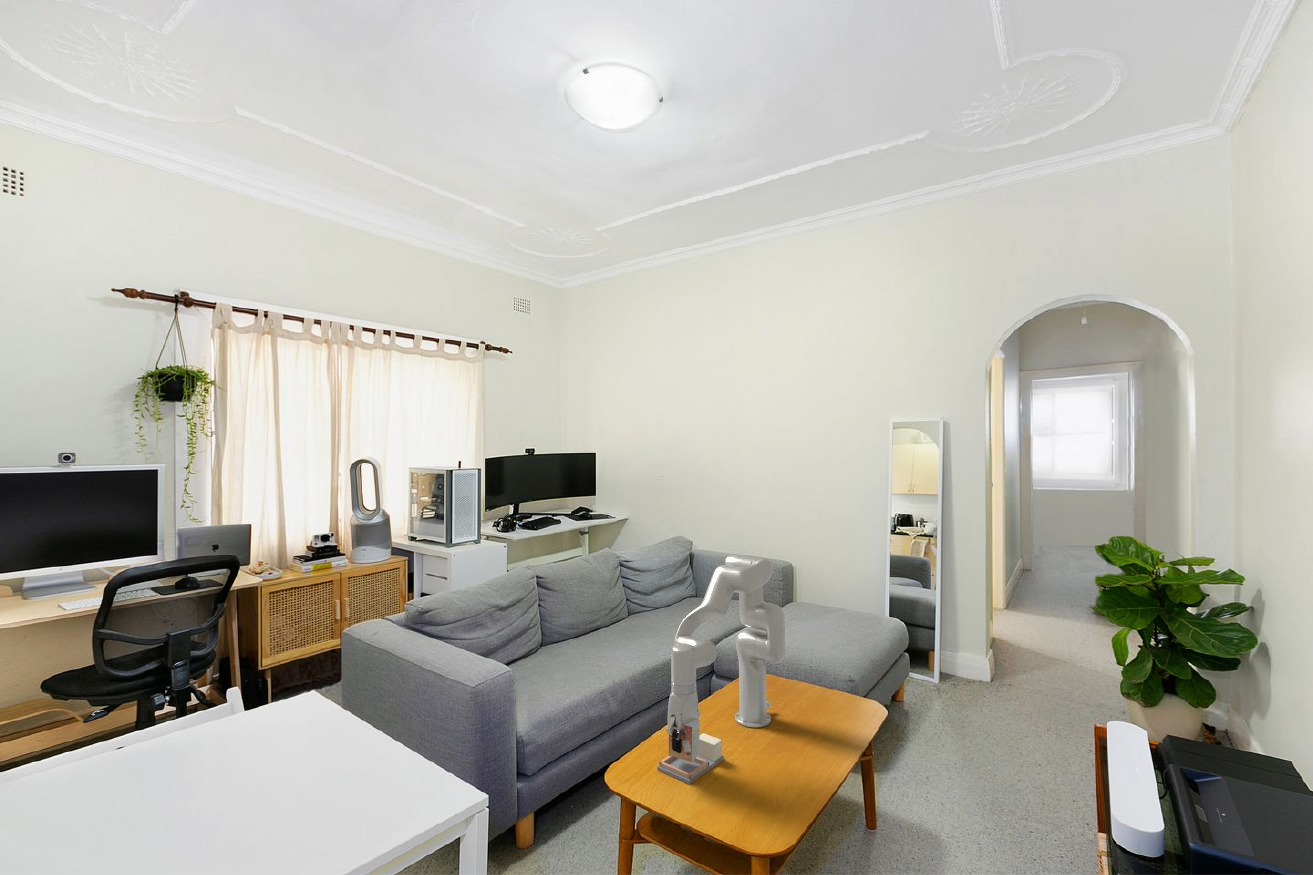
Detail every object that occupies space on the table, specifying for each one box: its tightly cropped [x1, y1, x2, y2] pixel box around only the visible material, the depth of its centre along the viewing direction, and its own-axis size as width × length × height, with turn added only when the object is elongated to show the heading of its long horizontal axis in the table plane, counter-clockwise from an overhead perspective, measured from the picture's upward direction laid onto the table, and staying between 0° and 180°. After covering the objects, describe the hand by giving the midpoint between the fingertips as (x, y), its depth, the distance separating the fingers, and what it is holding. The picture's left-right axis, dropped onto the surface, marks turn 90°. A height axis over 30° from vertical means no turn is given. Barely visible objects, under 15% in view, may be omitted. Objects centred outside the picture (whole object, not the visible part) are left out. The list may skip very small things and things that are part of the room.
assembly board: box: [657, 733, 725, 785], centre depth 181 cm, size 18×12×6 cm, turn 140°
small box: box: [668, 719, 701, 762], centre depth 179 cm, size 8×6×10 cm
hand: (684, 746), depth 179 cm, fingers closed on small box, 6 cm apart
